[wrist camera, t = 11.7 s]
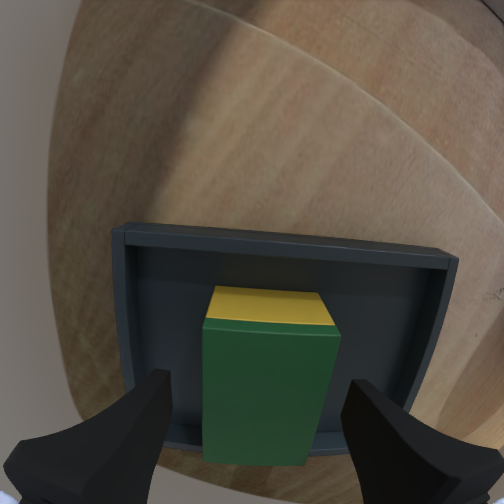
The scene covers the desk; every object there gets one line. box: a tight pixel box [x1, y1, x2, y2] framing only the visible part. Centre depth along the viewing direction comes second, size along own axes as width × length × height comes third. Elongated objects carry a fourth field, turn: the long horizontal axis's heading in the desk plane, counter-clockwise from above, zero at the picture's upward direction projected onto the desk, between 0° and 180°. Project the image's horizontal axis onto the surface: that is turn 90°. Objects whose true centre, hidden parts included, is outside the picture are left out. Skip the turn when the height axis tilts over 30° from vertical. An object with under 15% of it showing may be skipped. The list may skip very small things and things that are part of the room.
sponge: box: [201, 286, 341, 466], centre depth 12 cm, size 4×7×4 cm, turn 175°
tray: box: [112, 222, 459, 457], centre depth 14 cm, size 15×12×2 cm
